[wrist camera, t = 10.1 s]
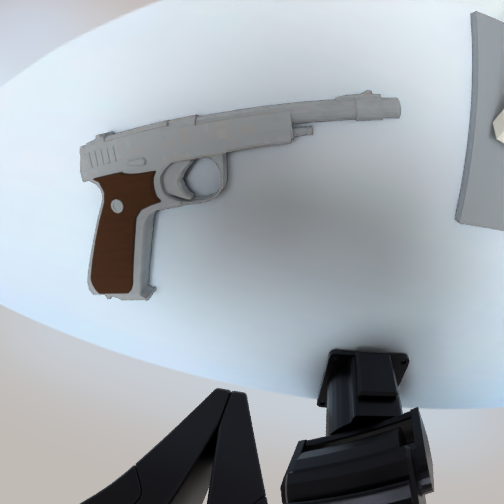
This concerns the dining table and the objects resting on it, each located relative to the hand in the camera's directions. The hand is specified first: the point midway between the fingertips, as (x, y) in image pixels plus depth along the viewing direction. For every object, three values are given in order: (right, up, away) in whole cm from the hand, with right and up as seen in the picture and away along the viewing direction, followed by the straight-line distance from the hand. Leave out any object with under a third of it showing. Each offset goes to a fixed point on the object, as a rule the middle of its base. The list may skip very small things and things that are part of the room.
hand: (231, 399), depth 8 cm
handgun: (-2, +7, +12) cm, 14 cm away
